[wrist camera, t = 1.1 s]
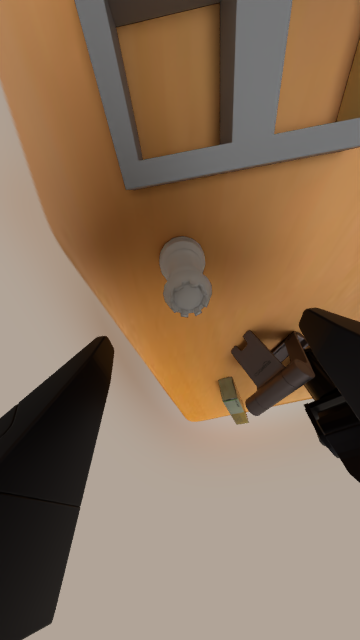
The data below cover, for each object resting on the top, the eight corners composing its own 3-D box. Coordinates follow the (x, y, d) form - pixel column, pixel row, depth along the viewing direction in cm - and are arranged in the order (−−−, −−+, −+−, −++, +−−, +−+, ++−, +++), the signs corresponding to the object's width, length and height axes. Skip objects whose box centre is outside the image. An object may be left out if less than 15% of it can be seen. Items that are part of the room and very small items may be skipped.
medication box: (216, 379, 30) (221, 401, 27) (231, 375, 30) (238, 397, 27) (231, 406, 37) (236, 426, 34) (243, 403, 37) (250, 423, 34)
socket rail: (343, 150, 12) (384, 141, 10) (133, 189, 13) (125, 189, 11) (424, -98, 7) (543, -233, 5) (83, -13, 8) (48, -95, 6)
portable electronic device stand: (262, 368, 29) (289, 421, 22) (223, 359, 27) (240, 414, 20) (301, 332, 24) (351, 386, 17) (256, 318, 22) (294, 373, 15)
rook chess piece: (209, 271, 18) (231, 316, 11) (170, 286, 18) (170, 335, 12) (195, 226, 15) (215, 252, 9) (151, 246, 16) (139, 283, 9)
